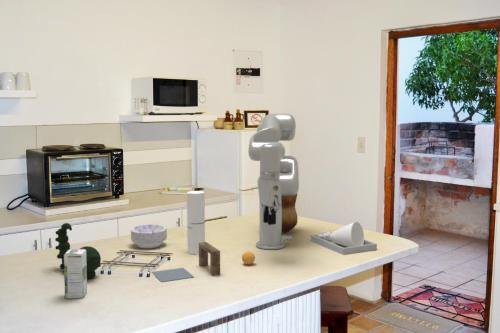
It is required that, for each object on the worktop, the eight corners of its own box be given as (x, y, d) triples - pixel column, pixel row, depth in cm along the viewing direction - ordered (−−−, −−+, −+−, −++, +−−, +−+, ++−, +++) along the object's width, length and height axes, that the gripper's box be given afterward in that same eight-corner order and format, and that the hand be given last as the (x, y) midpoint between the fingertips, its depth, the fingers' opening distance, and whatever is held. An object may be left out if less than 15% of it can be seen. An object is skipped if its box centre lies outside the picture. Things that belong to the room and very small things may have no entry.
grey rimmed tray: (341, 236, 248) (342, 231, 248) (376, 249, 225) (376, 244, 225) (310, 240, 240) (310, 235, 240) (343, 254, 218) (343, 248, 218)
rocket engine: (317, 220, 237) (353, 216, 226) (329, 233, 244) (365, 230, 233) (311, 243, 231) (349, 240, 220) (324, 256, 238) (361, 254, 227)
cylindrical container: (202, 254, 218) (201, 193, 215) (185, 253, 219) (184, 193, 216) (207, 250, 225) (206, 191, 222) (190, 249, 226) (190, 190, 223)
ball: (251, 261, 208) (251, 249, 208) (257, 265, 204) (257, 252, 203) (239, 263, 206) (239, 250, 205) (245, 266, 201) (245, 253, 201)
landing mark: (183, 268, 200) (183, 267, 200) (194, 277, 189) (194, 276, 189) (151, 272, 195) (151, 271, 195) (161, 282, 184) (161, 281, 184)
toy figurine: (51, 275, 197) (88, 284, 180) (46, 224, 196) (83, 228, 179) (74, 269, 204) (112, 277, 187) (70, 220, 203) (108, 223, 186)
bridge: (206, 264, 205) (206, 241, 204) (220, 274, 192) (220, 250, 191) (198, 265, 204) (198, 242, 203) (212, 275, 191) (212, 251, 190)
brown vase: (298, 235, 251) (298, 182, 248) (269, 235, 251) (269, 182, 248) (296, 228, 265) (296, 178, 262) (269, 228, 265) (269, 178, 262)
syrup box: (69, 292, 174) (67, 248, 172) (87, 292, 174) (86, 248, 172) (64, 299, 168) (62, 253, 166) (84, 298, 168) (82, 253, 167)
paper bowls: (142, 252, 221) (142, 233, 220) (124, 245, 232) (124, 227, 232) (173, 246, 231) (173, 228, 230) (155, 239, 242) (154, 222, 242)
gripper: (288, 178, 199) (288, 226, 201) (268, 173, 214) (268, 218, 216) (271, 179, 196) (270, 228, 198) (251, 174, 211) (251, 220, 213)
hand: (269, 222), depth 207 cm, fingers open, 3 cm apart
